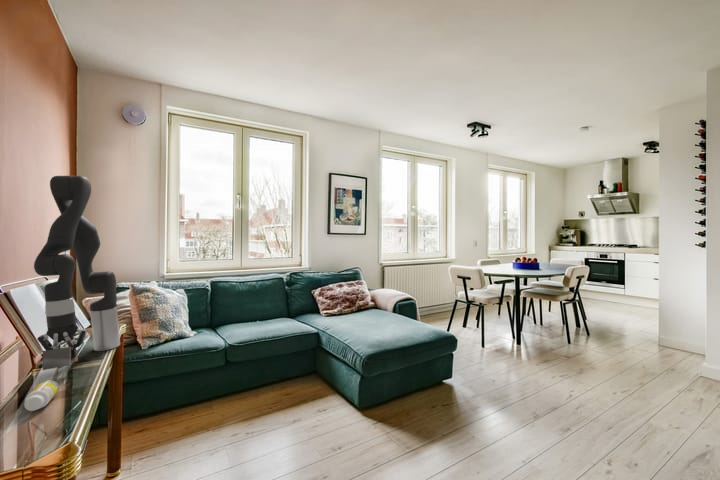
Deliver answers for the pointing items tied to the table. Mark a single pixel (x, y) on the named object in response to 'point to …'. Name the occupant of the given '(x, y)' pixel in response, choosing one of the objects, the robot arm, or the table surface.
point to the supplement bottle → (41, 395)
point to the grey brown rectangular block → (58, 358)
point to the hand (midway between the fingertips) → (66, 360)
